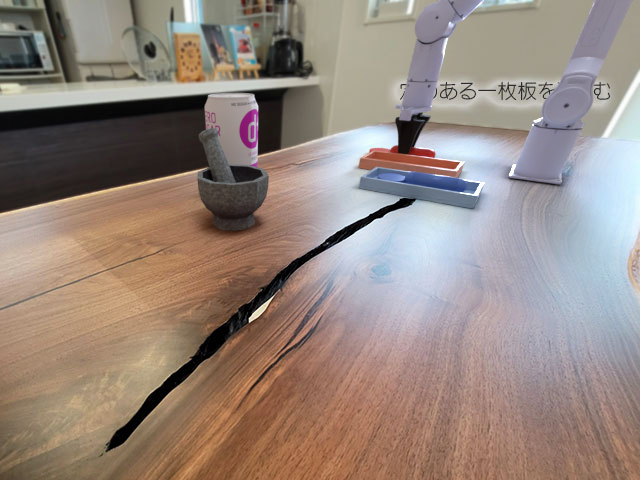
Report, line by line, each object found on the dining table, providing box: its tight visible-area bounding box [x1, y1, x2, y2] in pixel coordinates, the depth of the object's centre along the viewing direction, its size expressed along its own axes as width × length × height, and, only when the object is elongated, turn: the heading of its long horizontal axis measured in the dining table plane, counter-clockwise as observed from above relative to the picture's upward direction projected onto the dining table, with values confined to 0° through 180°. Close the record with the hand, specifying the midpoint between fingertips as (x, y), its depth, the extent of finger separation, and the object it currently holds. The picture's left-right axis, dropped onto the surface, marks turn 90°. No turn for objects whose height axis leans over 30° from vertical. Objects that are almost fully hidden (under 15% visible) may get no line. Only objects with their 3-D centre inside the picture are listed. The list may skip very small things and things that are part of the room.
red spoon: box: [368, 144, 437, 158], centre depth 81 cm, size 14×5×3 cm, turn 54°
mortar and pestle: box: [197, 128, 270, 232], centre depth 49 cm, size 11×9×12 cm
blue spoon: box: [377, 172, 467, 193], centre depth 61 cm, size 14×5×3 cm, turn 54°
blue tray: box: [358, 167, 485, 209], centre depth 62 cm, size 8×18×2 cm, turn 54°
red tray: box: [357, 151, 465, 178], centre depth 73 cm, size 8×18×2 cm, turn 54°
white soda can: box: [204, 92, 259, 168], centre depth 58 cm, size 8×8×15 cm
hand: (405, 152), depth 80 cm, fingers closed on red spoon, 2 cm apart
